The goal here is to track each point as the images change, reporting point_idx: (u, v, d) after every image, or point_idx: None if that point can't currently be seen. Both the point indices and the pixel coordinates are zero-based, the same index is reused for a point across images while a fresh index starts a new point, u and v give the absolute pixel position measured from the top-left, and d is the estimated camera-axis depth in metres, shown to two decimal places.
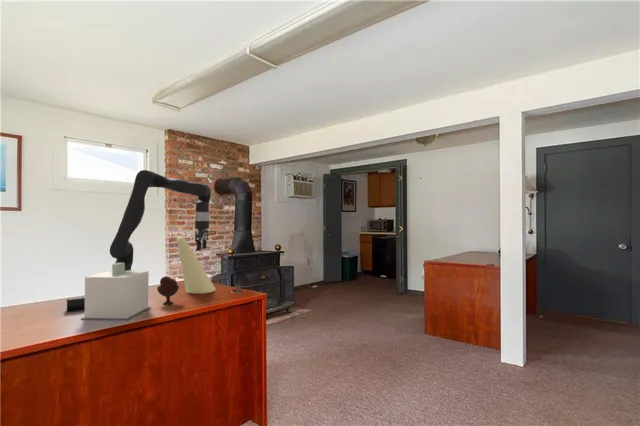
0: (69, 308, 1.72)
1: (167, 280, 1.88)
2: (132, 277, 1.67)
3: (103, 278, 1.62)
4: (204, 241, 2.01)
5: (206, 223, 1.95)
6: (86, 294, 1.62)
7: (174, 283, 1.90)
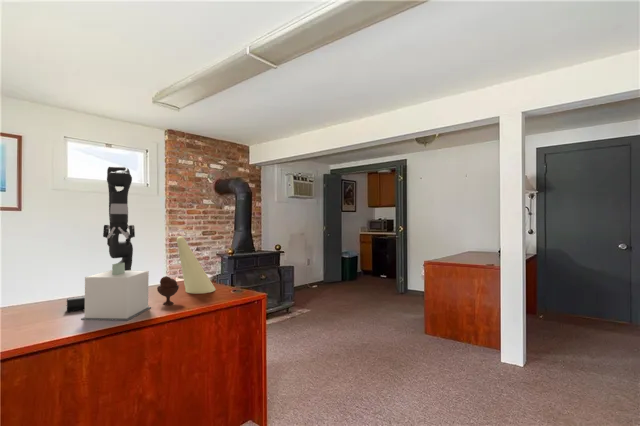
0: (69, 308, 1.72)
1: (167, 280, 1.88)
2: (132, 277, 1.67)
3: (103, 278, 1.62)
4: (110, 238, 1.72)
5: None
6: (86, 294, 1.62)
7: (174, 283, 1.90)
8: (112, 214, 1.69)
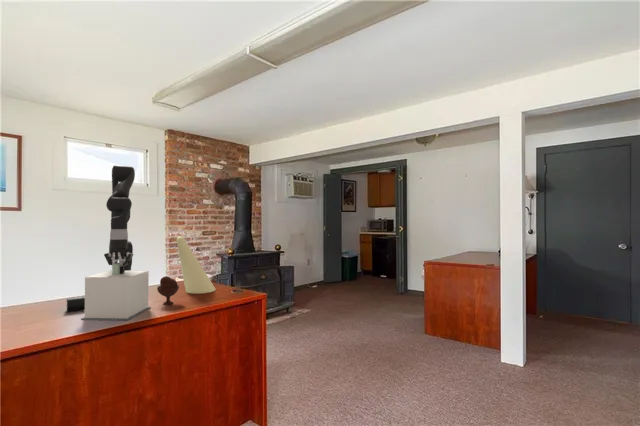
0: (69, 308, 1.72)
1: (167, 280, 1.88)
2: (132, 277, 1.67)
3: (103, 278, 1.62)
4: None
5: None
6: (86, 294, 1.62)
7: (174, 283, 1.90)
8: (112, 240, 1.69)
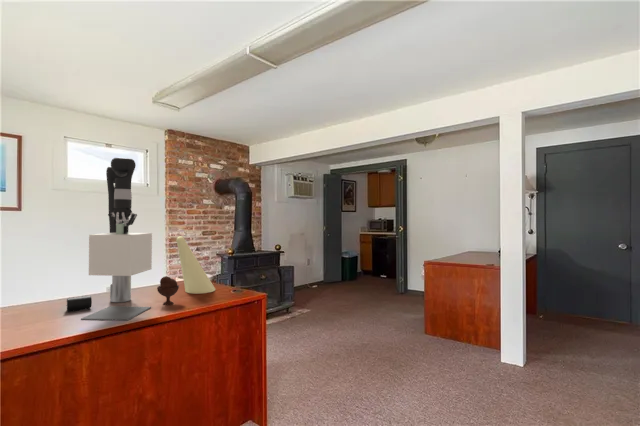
0: (69, 308, 1.72)
1: (167, 280, 1.88)
2: (136, 236, 1.68)
3: (107, 236, 1.63)
4: None
5: None
6: (90, 251, 1.64)
7: (174, 283, 1.90)
8: (116, 199, 1.70)
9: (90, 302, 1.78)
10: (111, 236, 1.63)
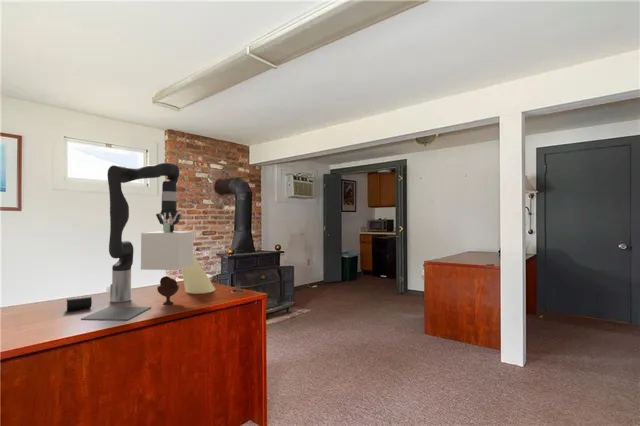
0: (69, 308, 1.72)
1: (167, 280, 1.88)
2: (182, 234, 1.85)
3: (157, 234, 1.81)
4: None
5: None
6: (142, 248, 1.81)
7: (174, 283, 1.90)
8: (163, 201, 1.87)
9: (90, 302, 1.78)
10: (161, 234, 1.81)
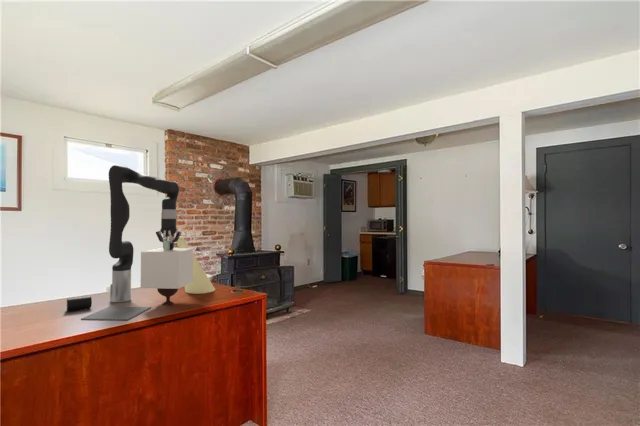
0: (69, 308, 1.72)
1: None
2: (182, 252, 1.85)
3: (157, 252, 1.81)
4: None
5: None
6: (142, 267, 1.81)
7: None
8: (163, 219, 1.87)
9: (90, 302, 1.78)
10: (161, 253, 1.81)
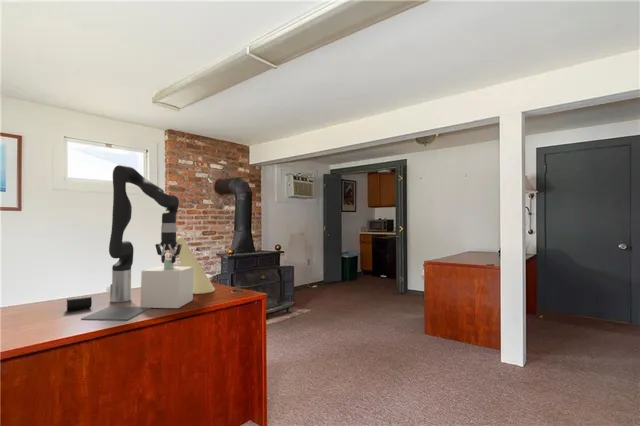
0: (69, 308, 1.72)
1: None
2: (182, 271, 1.86)
3: (158, 272, 1.81)
4: (164, 255, 1.91)
5: None
6: (142, 286, 1.81)
7: None
8: (163, 232, 1.87)
9: (90, 302, 1.78)
10: (161, 272, 1.81)
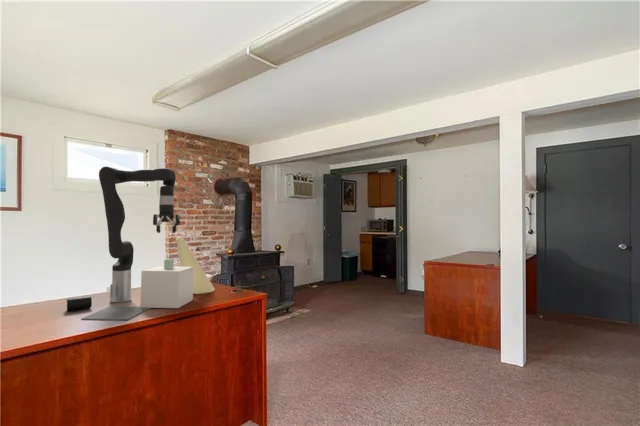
0: (69, 308, 1.72)
1: None
2: (182, 271, 1.86)
3: (158, 272, 1.81)
4: (159, 225, 1.99)
5: None
6: (142, 286, 1.81)
7: None
8: (161, 205, 1.95)
9: (90, 302, 1.78)
10: (161, 272, 1.81)
